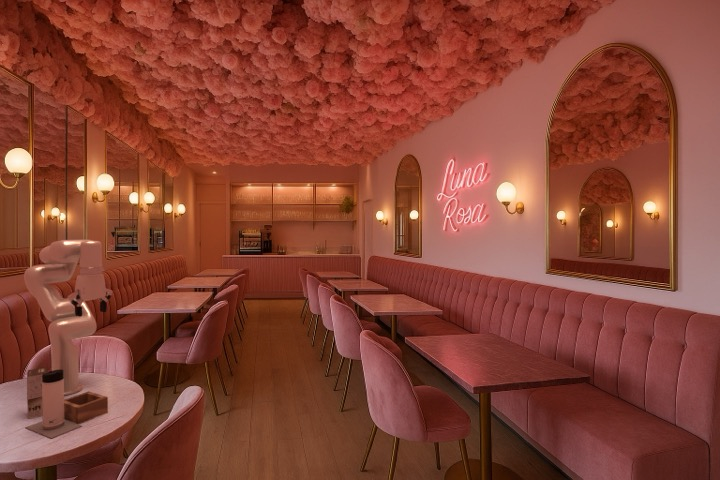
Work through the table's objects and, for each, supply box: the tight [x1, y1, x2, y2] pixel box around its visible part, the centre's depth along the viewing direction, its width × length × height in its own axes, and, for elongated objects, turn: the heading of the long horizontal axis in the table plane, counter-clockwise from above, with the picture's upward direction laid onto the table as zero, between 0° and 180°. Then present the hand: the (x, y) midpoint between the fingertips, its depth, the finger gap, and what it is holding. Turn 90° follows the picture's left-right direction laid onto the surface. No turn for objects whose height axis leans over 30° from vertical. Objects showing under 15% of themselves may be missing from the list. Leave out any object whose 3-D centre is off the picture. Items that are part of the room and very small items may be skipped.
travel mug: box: [42, 369, 65, 430], centre depth 152 cm, size 6×7×20 cm
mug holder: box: [64, 391, 109, 425], centre depth 162 cm, size 12×11×6 cm
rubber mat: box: [25, 419, 83, 440], centre depth 152 cm, size 16×10×1 cm, turn 64°
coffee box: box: [26, 366, 49, 419], centre depth 163 cm, size 9×6×16 cm
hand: (91, 313), depth 171 cm, fingers open, 9 cm apart
